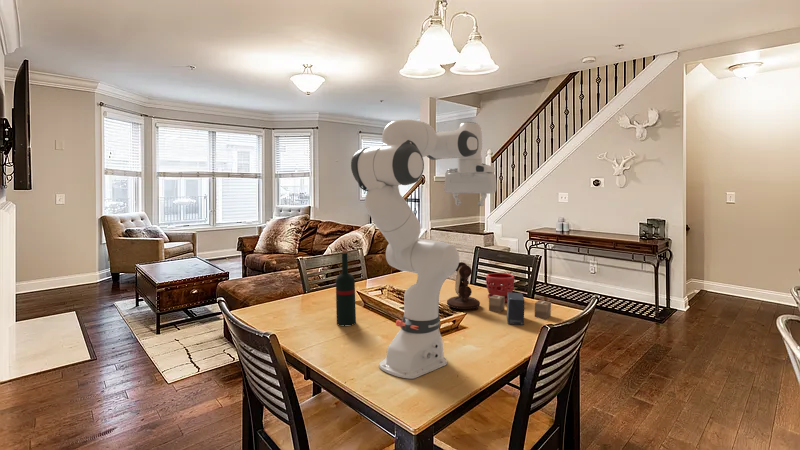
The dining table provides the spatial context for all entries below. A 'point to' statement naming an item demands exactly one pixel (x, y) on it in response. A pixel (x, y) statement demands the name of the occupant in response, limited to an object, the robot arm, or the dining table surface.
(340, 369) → the dining table surface
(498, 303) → the walnut block seven
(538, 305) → the walnut block one
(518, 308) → the small box
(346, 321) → the wine bottle
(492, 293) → the plant pot
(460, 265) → the dark brown knobbly figurine
